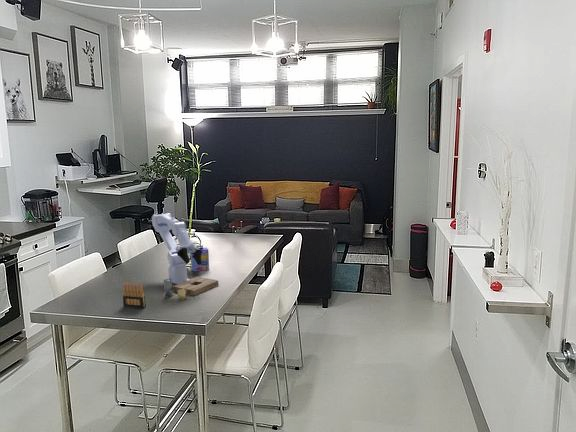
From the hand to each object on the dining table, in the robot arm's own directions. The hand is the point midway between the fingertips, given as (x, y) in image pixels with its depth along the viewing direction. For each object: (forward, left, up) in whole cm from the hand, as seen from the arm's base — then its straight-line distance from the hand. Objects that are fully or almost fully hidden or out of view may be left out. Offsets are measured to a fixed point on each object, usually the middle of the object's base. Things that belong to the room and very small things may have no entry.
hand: (194, 263), depth 229 cm
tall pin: (-7, -11, -14) cm, 20 cm away
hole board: (-3, +4, -14) cm, 15 cm away
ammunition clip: (-10, -29, -15) cm, 34 cm away
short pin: (+2, -11, -14) cm, 18 cm away
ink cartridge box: (-24, +30, -15) cm, 41 cm away
